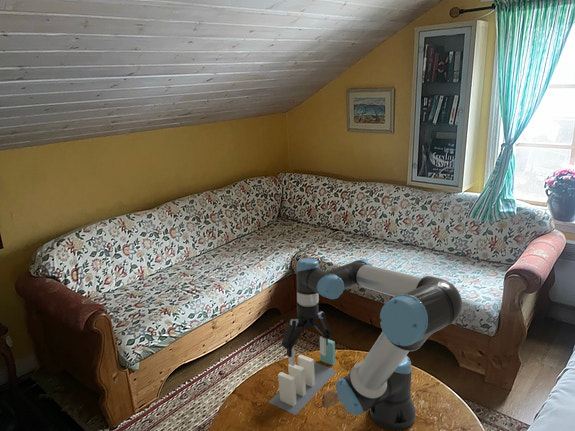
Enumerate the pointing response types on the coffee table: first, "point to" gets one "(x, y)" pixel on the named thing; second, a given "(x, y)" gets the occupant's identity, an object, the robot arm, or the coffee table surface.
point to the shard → (330, 398)
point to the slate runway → (321, 378)
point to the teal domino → (329, 353)
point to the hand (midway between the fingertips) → (307, 359)
